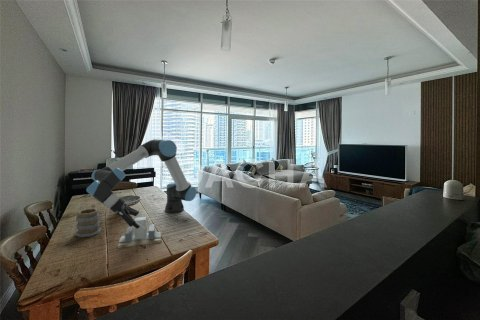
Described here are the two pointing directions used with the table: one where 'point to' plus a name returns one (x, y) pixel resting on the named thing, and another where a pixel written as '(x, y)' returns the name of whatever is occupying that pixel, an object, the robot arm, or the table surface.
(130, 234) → the mounted modules
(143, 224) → the block
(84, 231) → the tankard
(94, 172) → the robot arm
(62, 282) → the table surface
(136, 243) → the mounting board
